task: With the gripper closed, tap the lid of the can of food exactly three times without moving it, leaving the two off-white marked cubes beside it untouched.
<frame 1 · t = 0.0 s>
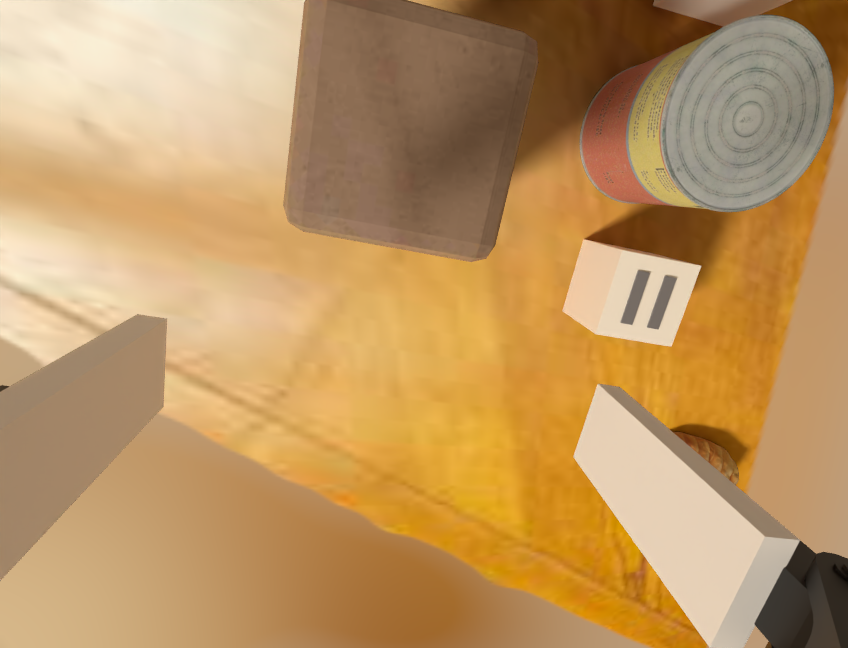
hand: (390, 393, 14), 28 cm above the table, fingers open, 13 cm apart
canned food: (640, 136, 40), on the table
marked cube 1: (606, 282, 43), on the table
pastry: (684, 460, 51), on the table
block: (392, 156, 38), on the table
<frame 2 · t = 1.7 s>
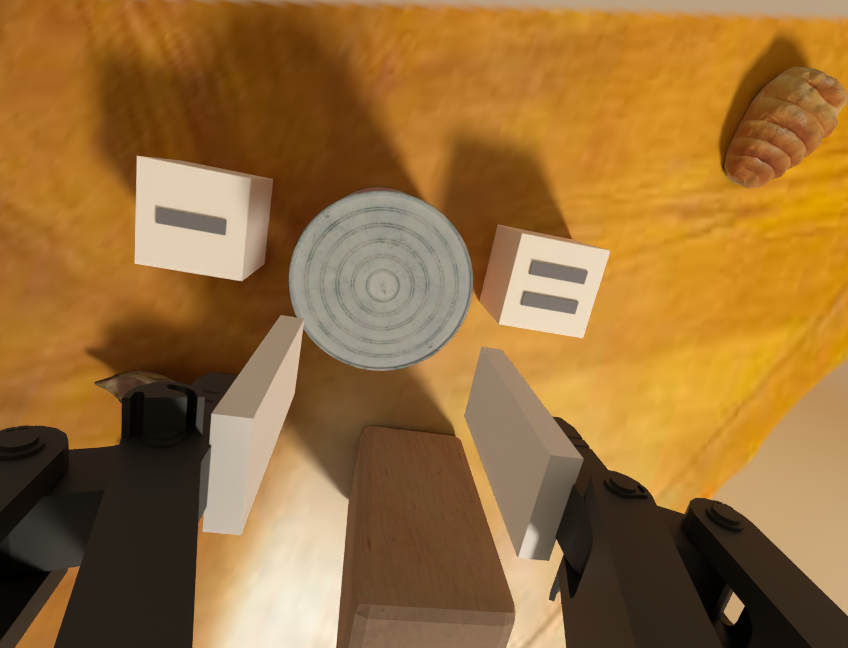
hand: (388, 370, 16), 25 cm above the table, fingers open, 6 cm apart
canned food: (380, 255, 39), on the table
marked cube 2: (224, 214, 37), on the table
marked cube 1: (524, 270, 41), on the table
pastry: (769, 129, 40), on the table
block: (403, 468, 46), on the table
ceramic sculpture: (208, 406, 42), on the table
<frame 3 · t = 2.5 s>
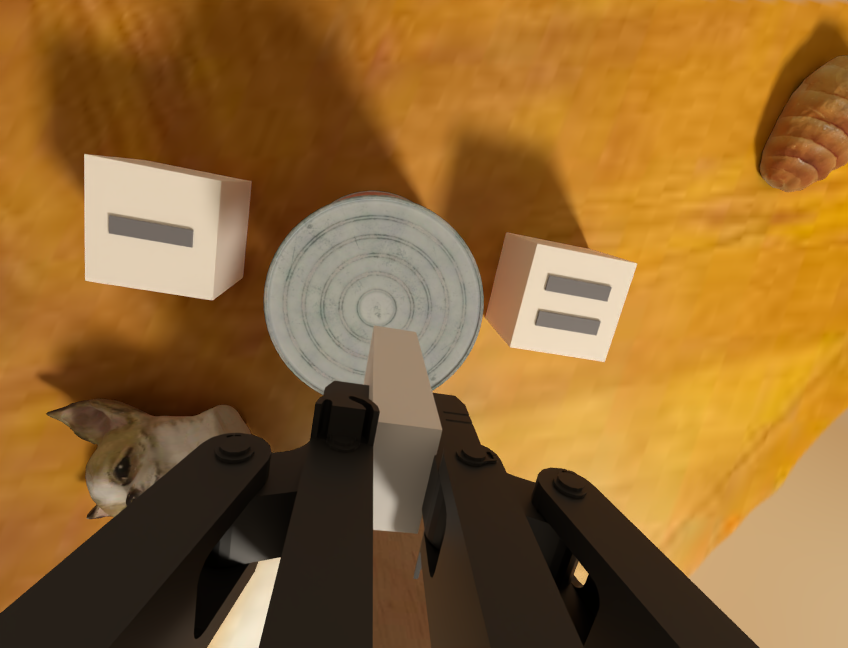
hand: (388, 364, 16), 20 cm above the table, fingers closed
canned food: (374, 266, 35), on the table
marked cube 2: (196, 221, 32), on the table
marked cube 1: (536, 283, 37), on the table
pastry: (808, 127, 36), on the table
block: (401, 501, 42), on the table
ceramic sculpture: (180, 436, 37), on the table
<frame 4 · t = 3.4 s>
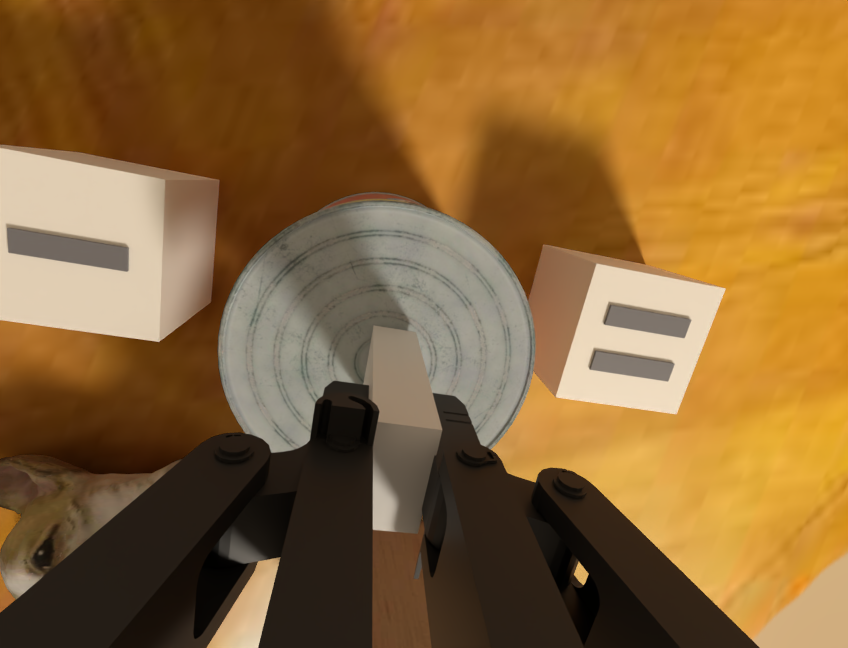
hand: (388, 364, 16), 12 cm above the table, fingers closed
canned food: (377, 287, 28), on the table, touching gripper
marked cube 2: (149, 231, 25), on the table
marked cube 1: (578, 307, 29), on the table
block: (409, 567, 34), on the table
ceramic sculpture: (134, 494, 30), on the table
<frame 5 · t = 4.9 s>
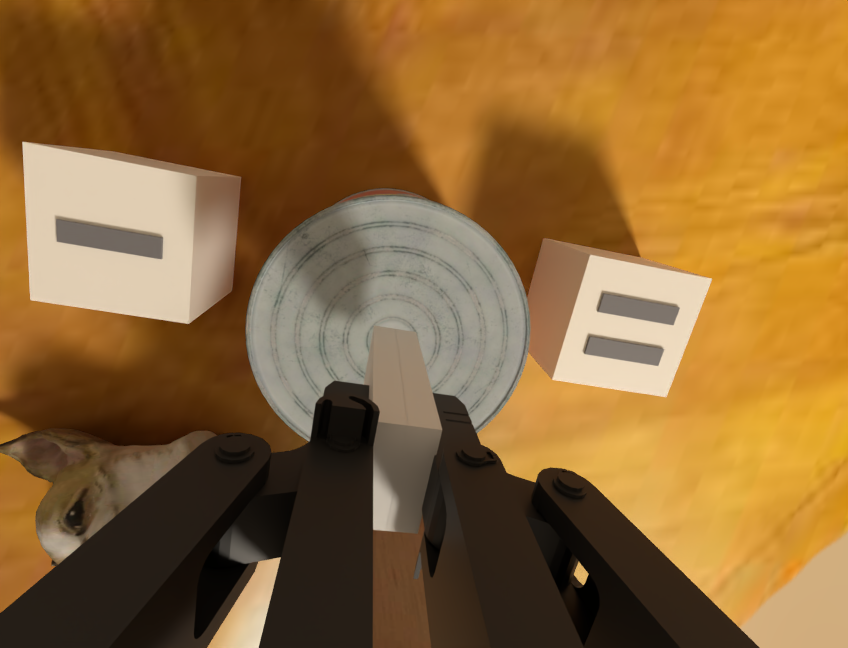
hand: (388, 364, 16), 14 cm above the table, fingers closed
canned food: (387, 278, 30), on the table
marked cube 2: (176, 224, 27), on the table
marked cube 1: (577, 297, 31), on the table
block: (415, 544, 36), on the table
ceramic sculpture: (155, 466, 32), on the table
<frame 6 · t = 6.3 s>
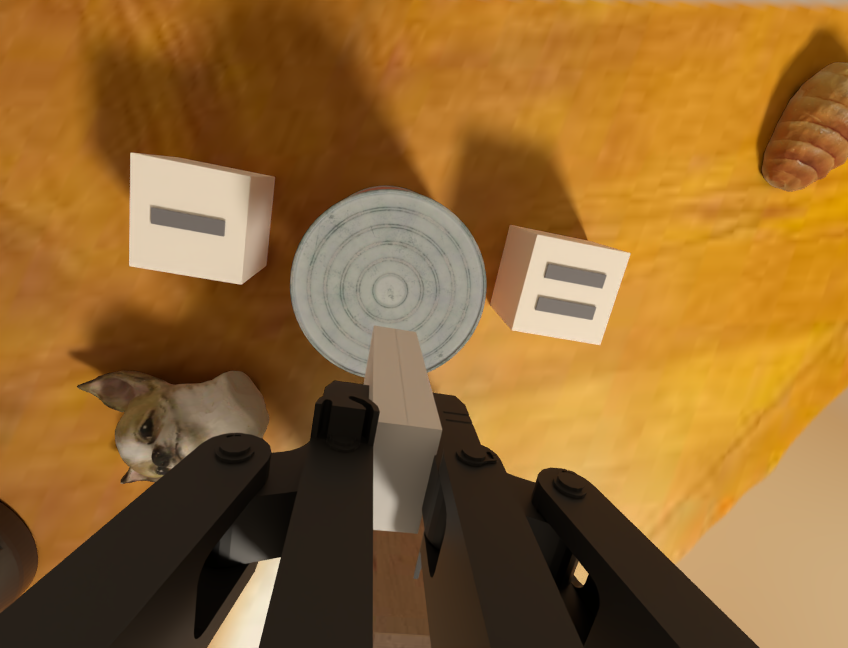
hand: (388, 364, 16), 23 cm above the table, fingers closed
canned food: (387, 256, 38), on the table
marked cube 2: (224, 213, 35), on the table
marked cube 1: (538, 272, 39), on the table
pastry: (808, 128, 38), on the table
block: (410, 477, 44), on the table
ceramic sculpture: (199, 405, 40), on the table
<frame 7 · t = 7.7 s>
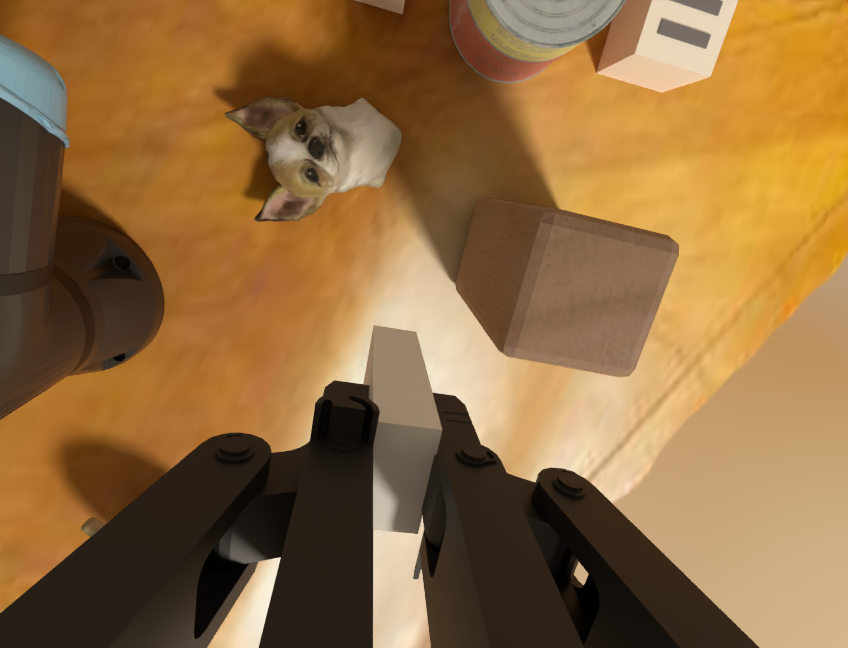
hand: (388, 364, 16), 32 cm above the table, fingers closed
canned food: (509, 15, 41), on the table
marked cube 1: (641, 43, 43), on the table
block: (508, 253, 48), on the table
ceramic sculpture: (323, 155, 44), on the table
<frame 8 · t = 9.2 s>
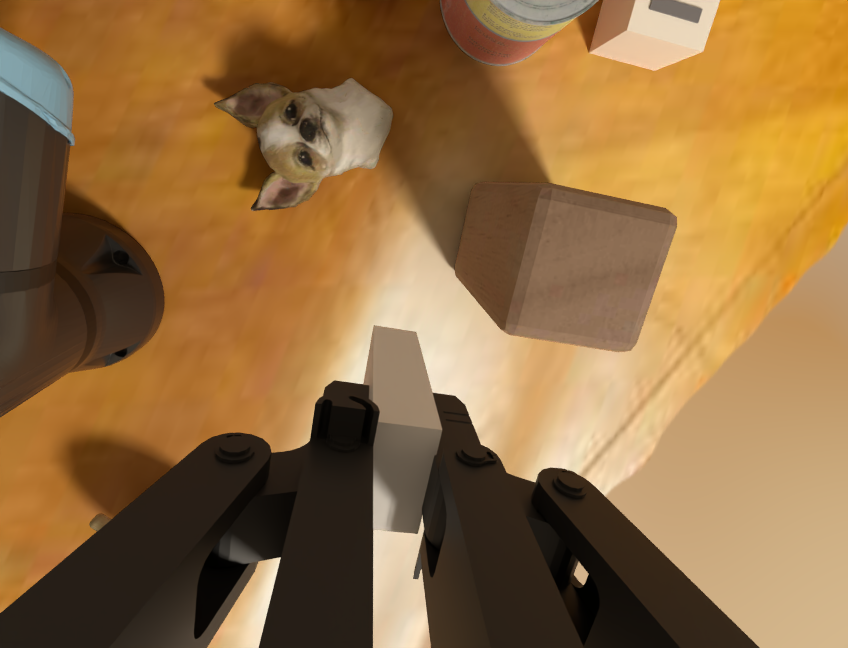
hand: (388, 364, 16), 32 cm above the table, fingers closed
marked cube 1: (633, 21, 43), on the table
block: (506, 237, 48), on the table
ceramic sculpture: (315, 141, 44), on the table
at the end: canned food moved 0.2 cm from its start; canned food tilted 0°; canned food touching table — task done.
